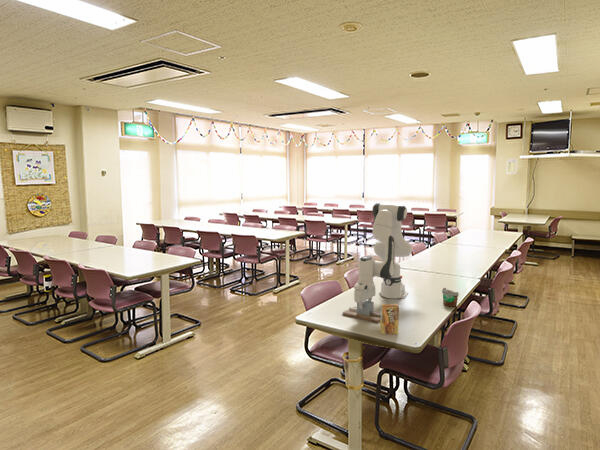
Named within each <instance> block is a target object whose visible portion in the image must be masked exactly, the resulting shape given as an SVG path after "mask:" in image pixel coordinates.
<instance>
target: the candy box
mask: <svg viewBox="0 0 600 450" xmlns="http://www.w3.org/2000/svg"><path fill="white" fill-rule="evenodd" d="M380 312H381V318H380V322H379V323H380V324H379V325H380V327H379V329H380V330H379V332H380V333H381V335H398V334H399V324H400V323H399V322H400V321H399V320H400V319H399V316H400V305H398V304H397V303H383V304H382V303H381V304H380Z"/></svg>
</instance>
